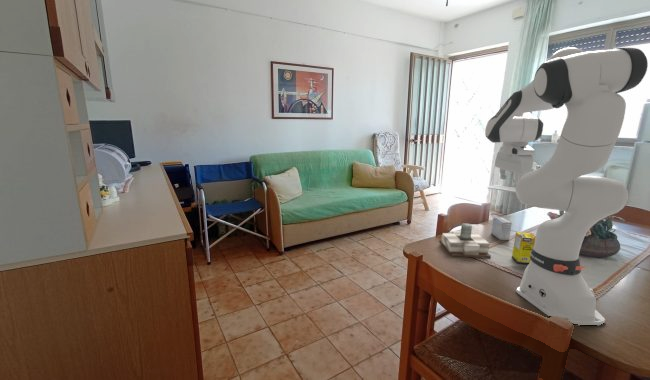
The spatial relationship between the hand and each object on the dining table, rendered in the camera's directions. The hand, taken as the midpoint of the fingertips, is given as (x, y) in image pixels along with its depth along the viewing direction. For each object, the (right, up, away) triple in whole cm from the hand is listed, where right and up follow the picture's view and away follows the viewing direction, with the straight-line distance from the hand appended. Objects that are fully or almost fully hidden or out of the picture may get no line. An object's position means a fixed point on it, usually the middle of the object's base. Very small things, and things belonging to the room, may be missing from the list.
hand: (509, 181), depth 126 cm
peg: (-18, -28, +2) cm, 33 cm away
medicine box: (+5, -26, +16) cm, 31 cm away
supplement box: (0, -32, -8) cm, 33 cm away
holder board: (-18, -29, +2) cm, 34 cm away
